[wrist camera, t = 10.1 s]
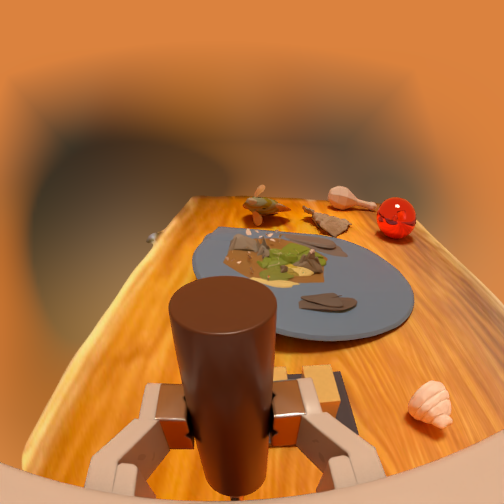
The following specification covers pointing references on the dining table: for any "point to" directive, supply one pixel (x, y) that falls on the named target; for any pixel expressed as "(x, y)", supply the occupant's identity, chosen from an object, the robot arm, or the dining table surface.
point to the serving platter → (312, 281)
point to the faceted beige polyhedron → (347, 199)
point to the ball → (396, 217)
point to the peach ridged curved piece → (431, 405)
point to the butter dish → (342, 408)
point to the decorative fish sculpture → (263, 206)
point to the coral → (328, 222)
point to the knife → (227, 376)
